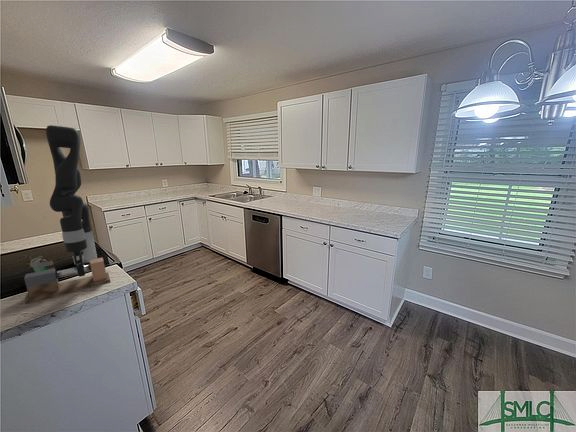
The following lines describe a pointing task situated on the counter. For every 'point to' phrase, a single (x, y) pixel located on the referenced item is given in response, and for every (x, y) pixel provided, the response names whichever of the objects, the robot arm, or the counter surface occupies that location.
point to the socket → (98, 269)
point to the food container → (41, 264)
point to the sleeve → (40, 277)
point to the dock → (61, 288)
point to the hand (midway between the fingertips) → (81, 272)
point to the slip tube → (71, 271)
